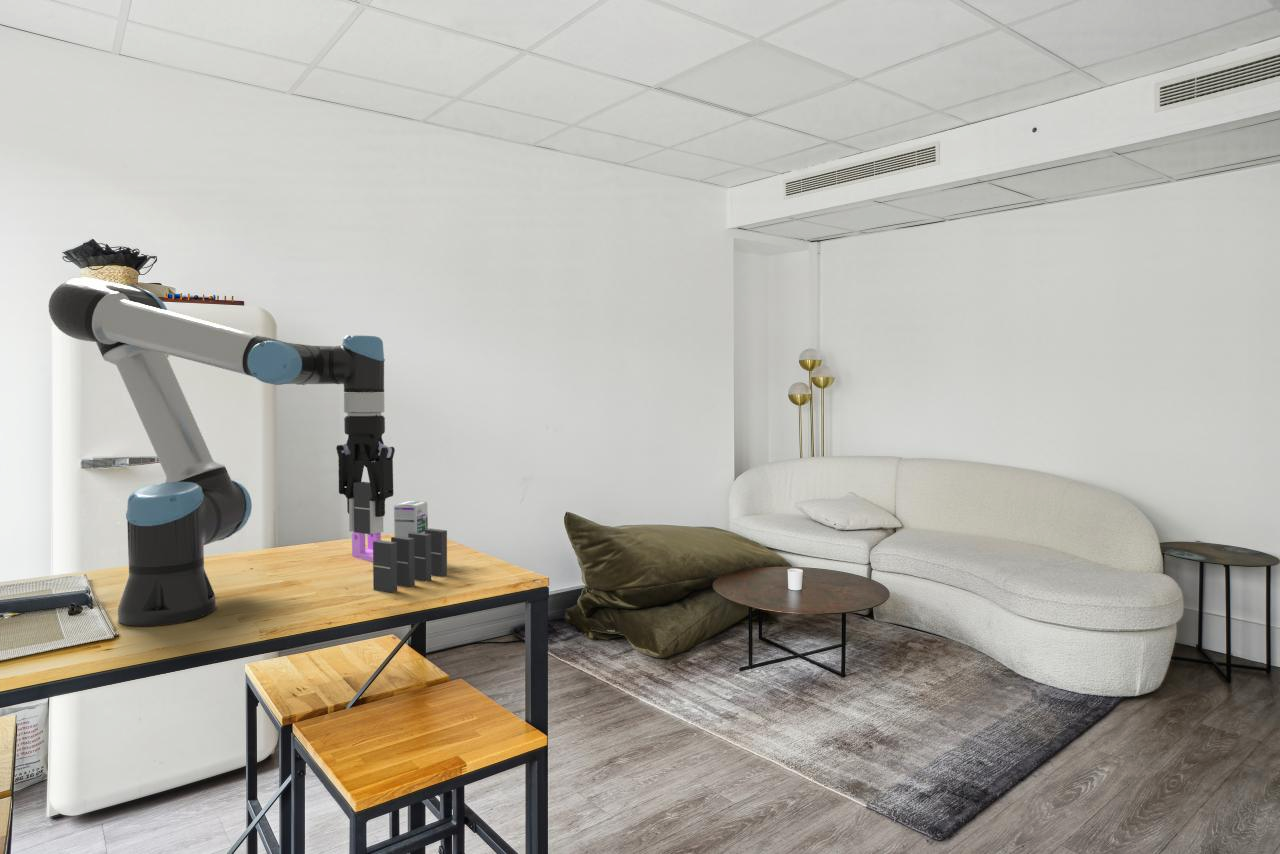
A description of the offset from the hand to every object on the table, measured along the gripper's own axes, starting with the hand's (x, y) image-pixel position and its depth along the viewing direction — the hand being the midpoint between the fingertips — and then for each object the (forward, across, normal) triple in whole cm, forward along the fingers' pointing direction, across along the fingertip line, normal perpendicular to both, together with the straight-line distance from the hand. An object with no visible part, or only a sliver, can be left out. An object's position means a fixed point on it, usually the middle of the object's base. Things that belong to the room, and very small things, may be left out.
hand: (366, 531), depth 151 cm
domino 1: (0, 0, 0) cm, 0 cm away
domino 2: (+13, 0, -5) cm, 14 cm away
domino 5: (+13, 0, -20) cm, 24 cm away
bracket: (+13, +23, -25) cm, 37 cm away
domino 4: (+13, 0, -15) cm, 20 cm away
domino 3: (+13, 0, -10) cm, 16 cm away
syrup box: (+13, +12, -25) cm, 31 cm away
